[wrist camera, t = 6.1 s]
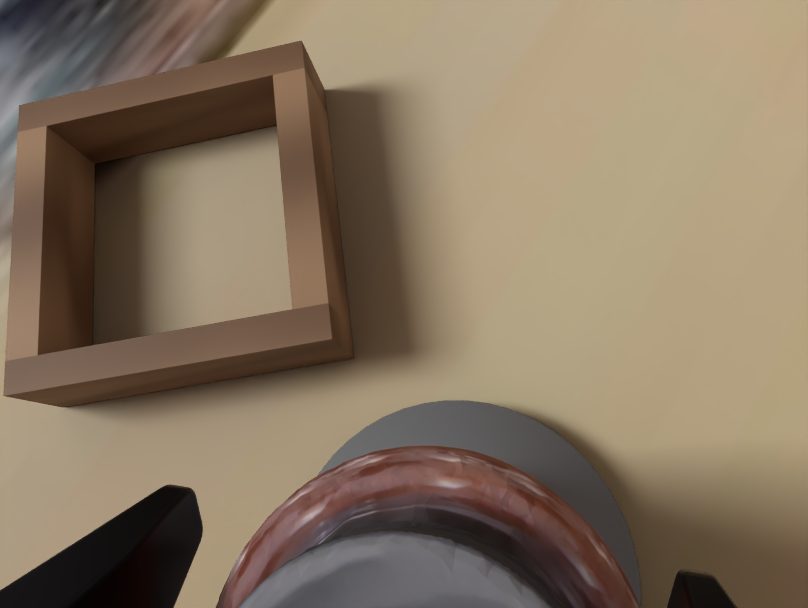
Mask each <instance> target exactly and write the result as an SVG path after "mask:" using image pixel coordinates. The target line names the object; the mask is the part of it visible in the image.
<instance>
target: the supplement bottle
mask: <svg viewBox="0 0 808 608" xmlns="http://www.w3.org/2000/svg"><path fill="white" fill-rule="evenodd" d="M216 608H640V606H639V603H638V601H637V598H636V595H635V593H634V591H633V589H632V587H631V585H630V583H629V581H628V579H627V577H626V575H625V574H624V572H623V570H622V568H621V566H620V565H619V563H618V562H617V560H616V559H615V557H614V556H613V554H612V553H611V551H610V550H609V548H608V547H607V545H606V543H605V542H604V541H603V539H602V538H601V537H600V536H599V535H598V533H597V532H596V531H595V530H594V528H593V527H592V526H591V525H590V524H589V523H588V522H587V521H586V520H585V519H584V518H583V517H582V516H581V515H580V514H579V513H578V512H577V511H576V510H575V509H573V508H572V507H571V506H570V505H569V504H568V503H567V502H566V501H564V500H563V499H562V498H561V497H559V496H558V495H557V494H556V493H554V492H553V491H552V490H550V489H549V488H548V487H546V486H545V485H544V484H542V483H541V482H539V481H537V480H536V479H535V478H534V477H532V476H530V475H529V474H527V473H525V472H523V471H522V470H520V469H518V468H516V467H514V466H513V465H510V464H508V463H506V462H504V461H501V460H499V459H497V458H494V457H491V456H488V455H484V454H481V453H478V452H475V451H471V450H465V449H460V448H453V447H444V446H422V445H419V446H405V447H397V448H390V449H384V450H379V451H374V452H371V453H368V454H365V455H362V456H359V457H356V458H353V459H350V460H348V461H346V462H343V463H341V464H340V465H338V466H336V467H334V468H332V469H329V470H327V471H325V472H324V473H322V474H320V475H319V476H317V477H315V478H314V479H312V480H310V481H309V482H307V483H306V484H305V485H304V486H303V487H301V488H300V489H298V490H297V491H296V492H295V493H294V494H293V495H291V496H290V497H289V498H288V499H287V500H286V501H285V502H284V503H283V504H282V505H281V506H279V507H278V508H277V509H276V510H275V511H274V512H273V513H272V514H271V515H270V516H269V517H268V518H267V519H266V521H265V522H264V523H263V524H262V526H261V527H260V528H259V529H258V531H257V532H256V533H255V534H254V536H253V537H252V538H251V540H250V541H249V542H248V544H247V545H246V546H245V548H244V550H243V552H242V553H241V555H240V556H239V557H238V559H237V560H236V562H235V564H234V566H233V568H232V570H231V572H230V575H229V577H228V579H227V581H226V583H225V585H224V588H223V590H222V592H221V594H220V597H219V601H218V604H217V606H216Z"/></svg>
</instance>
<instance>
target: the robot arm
mask: <svg viewBox="0 0 808 608" xmlns="http://www.w3.org/2000/svg"><path fill="white" fill-rule="evenodd" d="M202 532H203V526H202V520H201V516H200V512H199V507H198V503H197V498H196V494H195V492H194V491H193V490H192V489H191V488H189V487H182V486H176V485H166V486H164V487H162V488H160V489H158V490H157V491H155V492H154V493H152V494H151V495H149V496H147V497H146V498H144V499H143V500H141V501H140V502H138V503H136V504H135V505H133V506H132V507H130V508H129V509H127V510H125V511H124V512H122V513H121V514H119V515H118V516H116V517H114V518H113V519H111V520H110V521H108V522H107V523H105V524H103V525H102V526H100V527H99V528H97V529H96V530H94V531H92V532H91V533H89V534H88V535H86V536H85V537H83V538H82V539H80V540H78V541H77V542H75V543H74V544H72V545H71V546H69V547H67V548H66V549H64V550H63V551H61V552H60V553H58V554H56V555H55V556H53V557H52V558H50V559H49V560H47V561H45V562H44V563H42V564H41V565H39V566H38V567H36V568H34V569H33V570H31V571H30V572H28V573H27V574H25V575H24V576H22V577H20V578H19V579H17V580H16V581H14V582H13V583H11V584H9V585H8V586H6V587H5V588H3V589H2V590H0V608H174V605H175V603H176V600H177V598H178V595H179V593H180V590H181V588H182V586H183V583H184V581H185V578H186V576H187V573H188V571H189V568H190V566H191V564H192V561H193V559H194V556H195V554H196V551H197V549H198V546H199V544H200V541H201V538H202ZM667 608H737V607H736V605H735V604H734V602H733V601H732V600H731V598H730V597H729V595H728V594H727V593H726V591H725V590H724V589H723V587H722V586H721V584H720V583H719V582H718V580H717V579H716V578H715V577H714V576H713V575H711V574H709V573H705V572H699V571H692V570H686V569H682V570H680V571H679V572H678V573H677V575H676V578H675V582H674V585H673V589H672V592H671V596H670V599H669V603H668V606H667Z"/></svg>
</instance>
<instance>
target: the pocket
mask: <svg viewBox="0 0 808 608" xmlns="http://www.w3.org/2000/svg"><path fill="white" fill-rule="evenodd" d="M274 125H277V132H278V144H279V156H280V168H281V180H282V191H283V203H284V215H285V227H286V239H287V251H288V263H289V274H290V286H291V298H292V310H287V311H281V312H276V313H270V314H264V315H259V316H253V317H248V318H242V319H237V320H231V321H225V322H220V323H214V324H209V325H203V326H198V327H192V328H186V329H181V330H175V331H170V332H164V333H159V334H153V335H148V336H142V337H136V338H131V339H125V340H120V341H114V342H109V343H103V344H97V345H93V275H94V199H95V164H97V163H102V162H106V161H111V160H115V159H120V158H125V157H129V156H134V155H139V154H143V153H148V152H153V151H157V150H162V149H167V148H171V147H176V146H181V145H185V144H190V143H195V142H199V141H204V140H209V139H213V138H218V137H222V136H227V135H232V134H236V133H241V132H246V131H250V130H255V129H260V128H264V127H269V126H274ZM352 358H354V350H353V341H352V332H351V323H350V314H349V305H348V296H347V287H346V278H345V269H344V260H343V251H342V242H341V233H340V224H339V215H338V207H337V198H336V189H335V180H334V171H333V162H332V153H331V144H330V135H329V126H328V117H327V108H326V99H325V90H324V87H323V85H322V83H321V81H320V79H319V77H318V74H317V72H316V70H315V68H314V66H313V64H312V62H311V60H310V57H309V55H308V53H307V51H306V49H305V47H304V45H303V43H302V41H298V42H293V43H289V44H284V45H280V46H276V47H271V48H267V49H263V50H258V51H254V52H250V53H245V54H241V55H237V56H232V57H228V58H224V59H219V60H215V61H210V62H206V63H202V64H197V65H193V66H189V67H184V68H180V69H176V70H171V71H167V72H163V73H158V74H154V75H150V76H145V77H141V78H137V79H132V80H128V81H123V82H119V83H115V84H110V85H106V86H102V87H97V88H93V89H89V90H84V91H80V92H76V93H71V94H67V95H63V96H58V97H54V98H50V99H45V100H41V101H36V102H32V103H28V104H23V105H19V120H18V138H17V157H16V175H15V193H14V212H13V230H12V248H11V267H10V285H9V303H8V322H7V340H6V358H5V376H4V395H3V396H7V397H12V398H17V399H22V400H27V401H33V402H38V403H43V404H48V405H53V406H58V407H67V406H73V405H79V404H85V403H91V402H97V401H103V400H109V399H115V398H121V397H127V396H133V395H139V394H145V393H150V392H156V391H162V390H168V389H174V388H180V387H186V386H192V385H198V384H204V383H210V382H216V381H222V380H228V379H233V378H239V377H245V376H251V375H257V374H263V373H269V372H275V371H281V370H287V369H293V368H299V367H305V366H311V365H316V364H322V363H328V362H334V361H340V360H346V359H352Z"/></svg>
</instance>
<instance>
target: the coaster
mask: <svg viewBox="0 0 808 608" xmlns="http://www.w3.org/2000/svg"><path fill="white" fill-rule="evenodd" d="M419 445H422V446H444V447H453V448H460V449H465V450H471V451H475V452H478V453H481V454H484V455H488V456H491V457H494V458H497V459H499V460H501V461H504V462H506V463H508V464H510V465H513V466H514V467H516V468H518V469H520V470H522V471H523V472H525V473H527V474H529V475H530V476H532V477H534V478H535V479H536V480H537V481H539V482H541V483H542V484H544V485H545V486H546V487H548V488H549V489H550V490H552V491H553V492H554V493H556V494H557V495H558V496H559V497H561V498H562V499H563V500H564V501H566V502H567V503H568V504H569V505H570V506H571V507H572V508H573V509H575V510H576V511H577V512H578V513H579V514H580V515H581V516H582V517H583V518H584V519H585V520H586V521H587V522H588V523H589V524H590V525H591V526H592V527H593V528H594V530H595V531H596V532H597V533H598V535H599V536H600V537H601V538H602V539H603V541H604V542H605V543H606V545H607V547H608V548H609V550H610V551H611V553H612V554H613V556H614V557H615V559H616V560H617V562H618V563H619V565H620V566H621V568H622V570H623V572H624V574H625V575H626V577H627V579H628V581H629V583H630V585H631V587H632V589H633V591H634V593H635V595H636V598H637V601H638V603H639V606H640V608H641V585H640V573H639V568H638V563H637V557H636V552H635V548H634V545H633V542H632V538H631V535H630V532H629V529H628V526H627V523H626V521H625V519H624V517H623V515H622V513H621V510H620V508H619V506H618V504H617V502H616V500H615V498H614V497H613V495H612V494H611V492H610V490H609V489H608V487H607V486H606V484H605V482H604V481H603V479H602V478H601V477H600V476H599V474H598V473H597V472H596V471H595V469H594V468H593V467H592V466H591V464H590V463H589V462H588V461H587V460H586V459H585V458H584V457H583V456H582V455H581V454H580V453H579V452H578V451H577V450H576V449H575V448H574V447H573V446H572V445H571V444H570V443H568V442H567V441H566V440H564V439H563V438H562V437H560V436H559V435H558V434H556V433H555V432H554V431H552V430H551V429H549V428H548V427H546V426H544V425H542V424H541V423H539V422H537V421H535V420H534V419H532V418H530V417H527V416H525V415H523V414H520V413H518V412H515V411H513V410H510V409H507V408H503V407H500V406H496V405H492V404H488V403H481V402H474V401H438V402H430V403H423V404H420V405H416V406H412V407H408V408H404V409H402V410H399V411H397V412H395V413H392V414H390V415H387V416H385V417H383V418H381V419H379V420H378V421H376V422H374V423H372V424H371V425H369V426H367V427H365V428H364V429H363V430H362V431H360V432H359V433H358V434H356V435H355V436H354V437H352V438H351V439H350V440H348V441H347V442H346V443H345V444H344V445H343V446H342V447H341V448H340V449H339V450H338V451H337V452H336V453H335V454H334V455H333V456H332V458H331V459H330V460H329V461H328V463H327V464H326V465H325V466H324V468H323V469H322V470H321V471H320V473H319V474H318V476H319V475H320V474H322V473H324V472H325V471H327V470H329V469H332V468H334V467H336V466H338V465H340V464H341V463H343V462H346V461H348V460H350V459H353V458H356V457H359V456H362V455H365V454H368V453H371V452H374V451H379V450H384V449H390V448H397V447H405V446H419Z"/></svg>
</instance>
